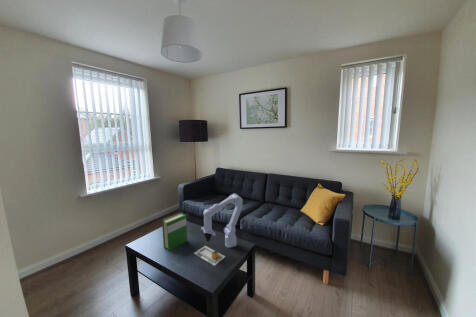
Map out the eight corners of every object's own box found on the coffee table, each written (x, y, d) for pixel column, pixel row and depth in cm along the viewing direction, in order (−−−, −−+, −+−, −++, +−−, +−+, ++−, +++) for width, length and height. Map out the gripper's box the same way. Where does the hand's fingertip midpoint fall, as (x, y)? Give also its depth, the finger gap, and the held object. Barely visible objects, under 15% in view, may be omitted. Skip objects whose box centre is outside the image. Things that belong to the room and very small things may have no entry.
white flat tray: (205, 247, 156) (205, 244, 156) (225, 258, 143) (225, 255, 143) (193, 255, 147) (193, 252, 146) (214, 267, 134) (214, 264, 133)
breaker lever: (215, 255, 143) (215, 249, 143) (218, 257, 142) (218, 251, 141) (211, 258, 140) (211, 252, 139) (214, 260, 138) (214, 253, 138)
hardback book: (168, 251, 151) (167, 222, 148) (163, 247, 156) (162, 220, 152) (187, 240, 165) (186, 214, 161) (182, 237, 170) (180, 212, 166)
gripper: (197, 223, 147) (198, 240, 149) (210, 229, 138) (211, 247, 141) (204, 220, 153) (204, 236, 155) (217, 226, 144) (217, 242, 146)
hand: (208, 241), depth 148 cm, fingers closed
